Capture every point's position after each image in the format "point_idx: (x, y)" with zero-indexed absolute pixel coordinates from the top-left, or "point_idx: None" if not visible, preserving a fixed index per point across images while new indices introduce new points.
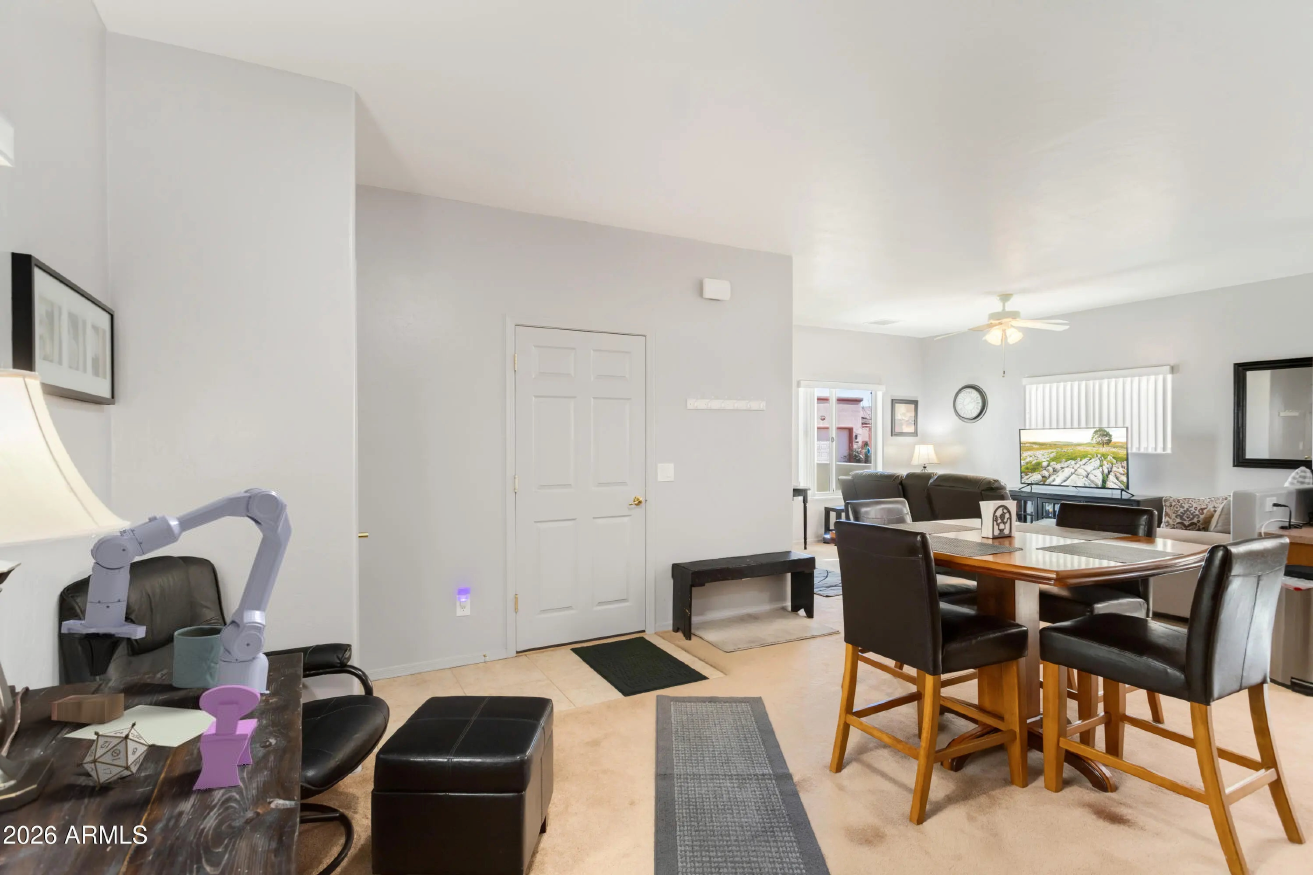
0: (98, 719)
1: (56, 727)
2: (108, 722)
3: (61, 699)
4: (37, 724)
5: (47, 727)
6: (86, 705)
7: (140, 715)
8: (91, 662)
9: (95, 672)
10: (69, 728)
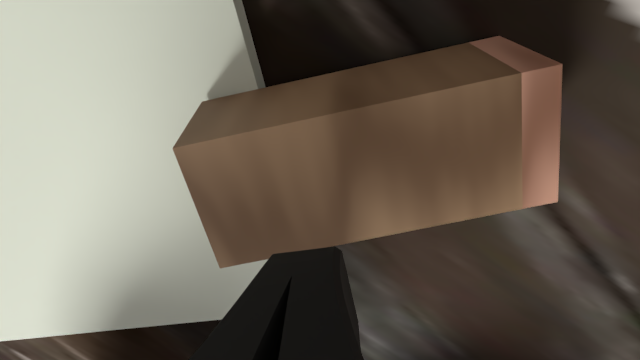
0: (234, 100)
1: (447, 25)
2: None
3: (556, 130)
4: (582, 15)
5: (490, 6)
6: (301, 109)
7: (192, 230)
8: (286, 339)
9: (262, 270)
10: (374, 42)
